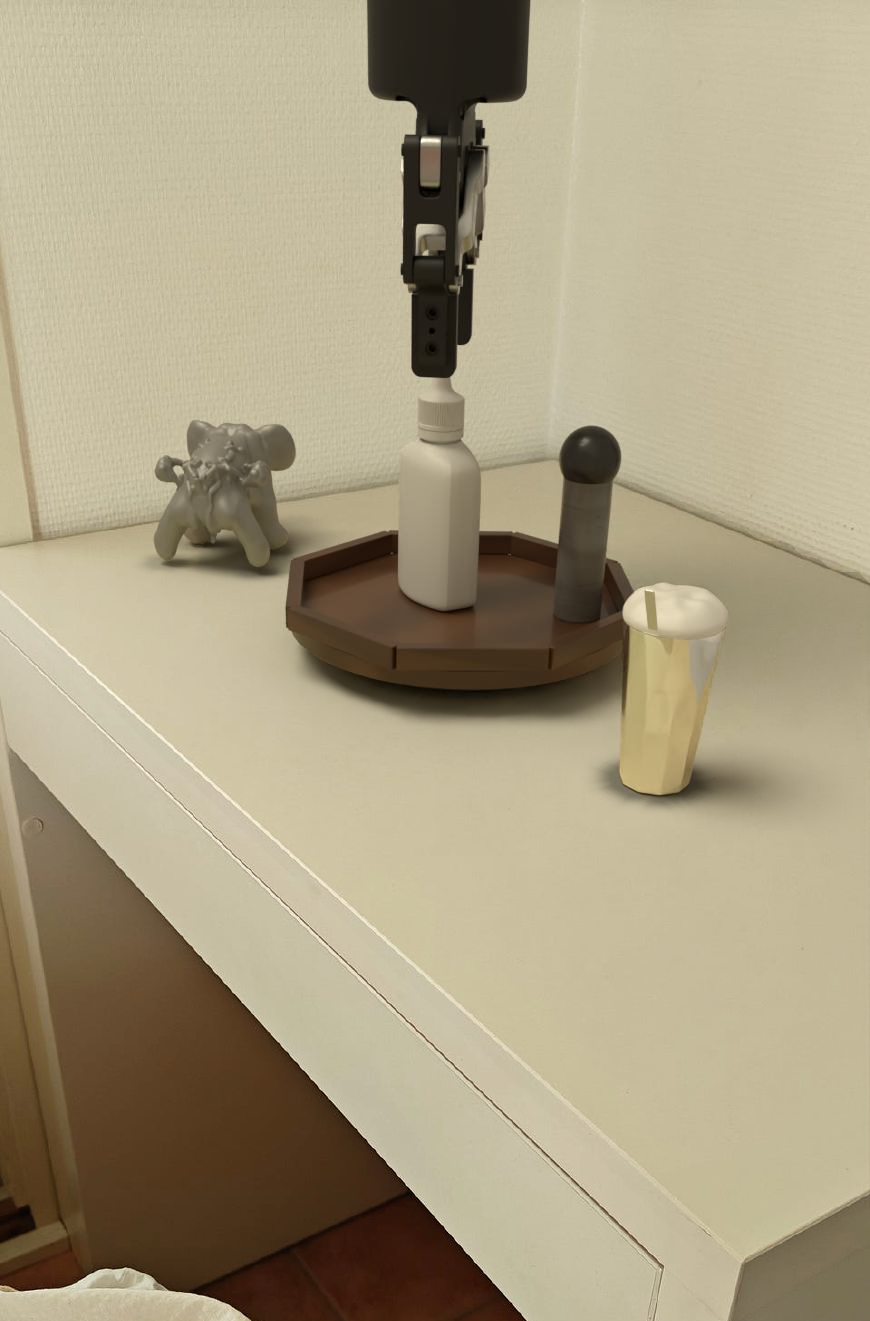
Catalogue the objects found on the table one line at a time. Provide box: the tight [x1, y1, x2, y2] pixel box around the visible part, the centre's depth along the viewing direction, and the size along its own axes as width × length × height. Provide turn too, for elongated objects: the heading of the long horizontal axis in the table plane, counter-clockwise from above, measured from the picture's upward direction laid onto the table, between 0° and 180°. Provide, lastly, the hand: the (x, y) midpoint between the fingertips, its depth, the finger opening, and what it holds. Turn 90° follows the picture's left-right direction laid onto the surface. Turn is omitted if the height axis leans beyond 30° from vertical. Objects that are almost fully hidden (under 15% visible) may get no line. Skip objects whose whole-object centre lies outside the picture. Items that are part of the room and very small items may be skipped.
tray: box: [284, 425, 635, 690], centre depth 73 cm, size 19×19×11 cm
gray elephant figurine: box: [153, 419, 297, 568], centre depth 89 cm, size 9×12×8 cm
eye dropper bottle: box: [397, 377, 482, 611], centre depth 73 cm, size 4×6×12 cm
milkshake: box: [618, 582, 729, 796], centre depth 61 cm, size 4×5×10 cm
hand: (443, 359), depth 71 cm, fingers open, 8 cm apart
